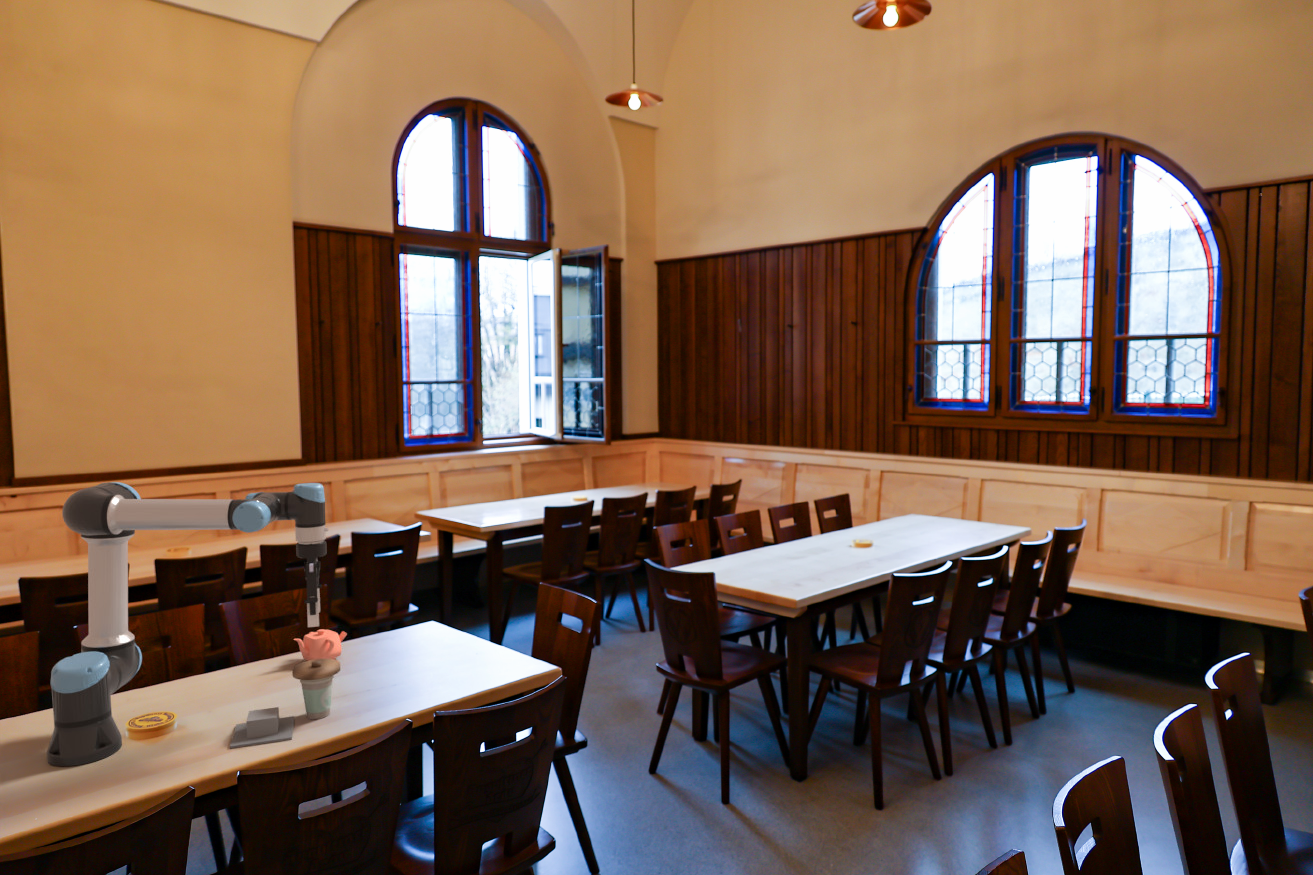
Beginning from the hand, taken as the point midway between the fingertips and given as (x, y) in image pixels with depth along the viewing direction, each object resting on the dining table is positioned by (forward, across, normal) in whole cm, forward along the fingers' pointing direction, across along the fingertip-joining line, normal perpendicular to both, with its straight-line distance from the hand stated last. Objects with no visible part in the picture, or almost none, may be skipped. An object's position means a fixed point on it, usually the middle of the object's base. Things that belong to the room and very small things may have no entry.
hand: (314, 619), depth 224 cm
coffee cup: (+27, 0, 0) cm, 27 cm away
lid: (+14, 0, 0) cm, 15 cm away
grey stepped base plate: (+26, -7, +13) cm, 30 cm away
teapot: (+27, +46, 0) cm, 53 cm away
